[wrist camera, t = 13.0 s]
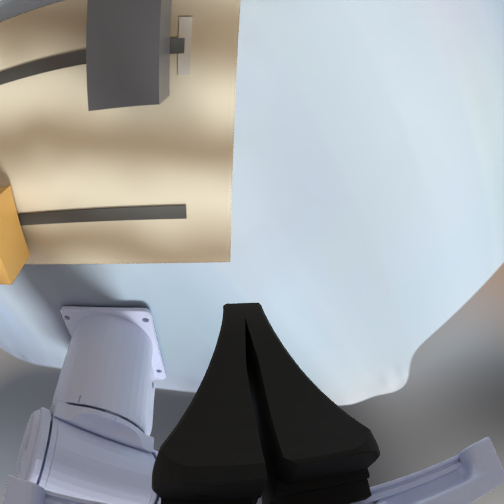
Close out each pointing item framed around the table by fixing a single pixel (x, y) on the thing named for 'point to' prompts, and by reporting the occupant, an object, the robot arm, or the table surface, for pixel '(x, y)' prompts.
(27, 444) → the robot arm
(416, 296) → the table surface
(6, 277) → the amber fader knob
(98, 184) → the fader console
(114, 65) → the charcoal fader knob
